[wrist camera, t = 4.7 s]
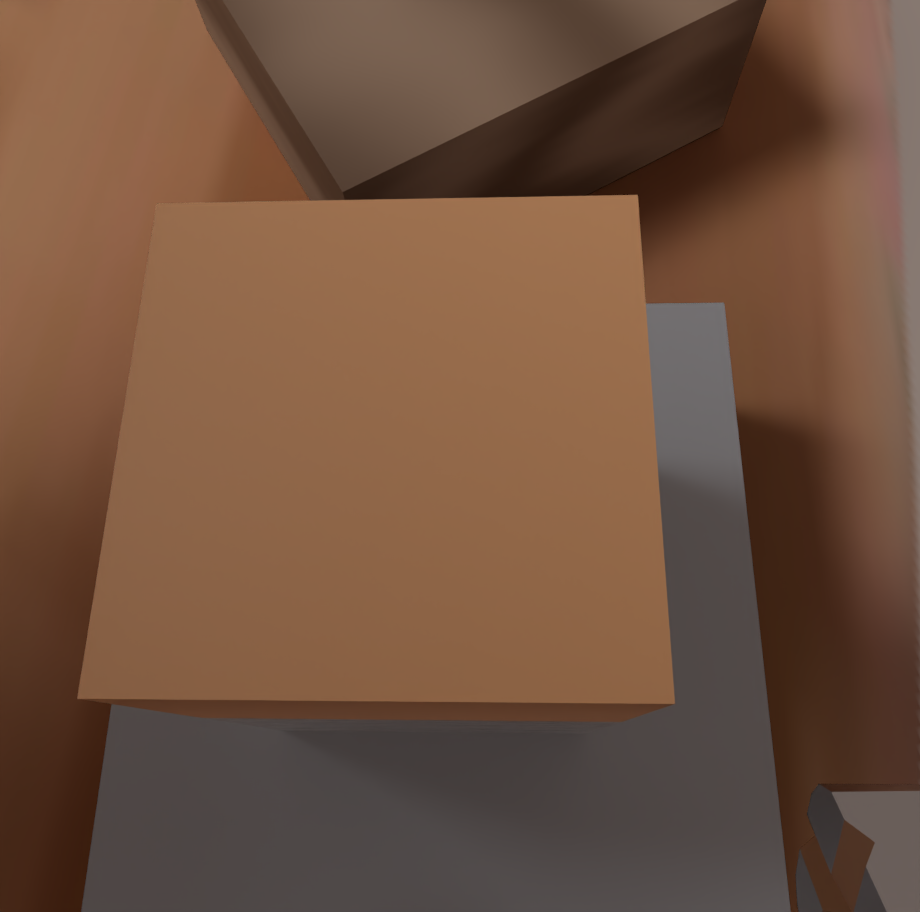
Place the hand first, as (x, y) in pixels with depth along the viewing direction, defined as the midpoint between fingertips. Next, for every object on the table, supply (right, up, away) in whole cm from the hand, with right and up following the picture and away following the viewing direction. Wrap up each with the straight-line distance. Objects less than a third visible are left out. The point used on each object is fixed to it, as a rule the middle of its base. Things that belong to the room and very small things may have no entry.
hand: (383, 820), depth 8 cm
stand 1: (+1, +16, +19) cm, 24 cm away
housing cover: (0, +3, +4) cm, 5 cm away
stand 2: (0, -1, +13) cm, 13 cm away
